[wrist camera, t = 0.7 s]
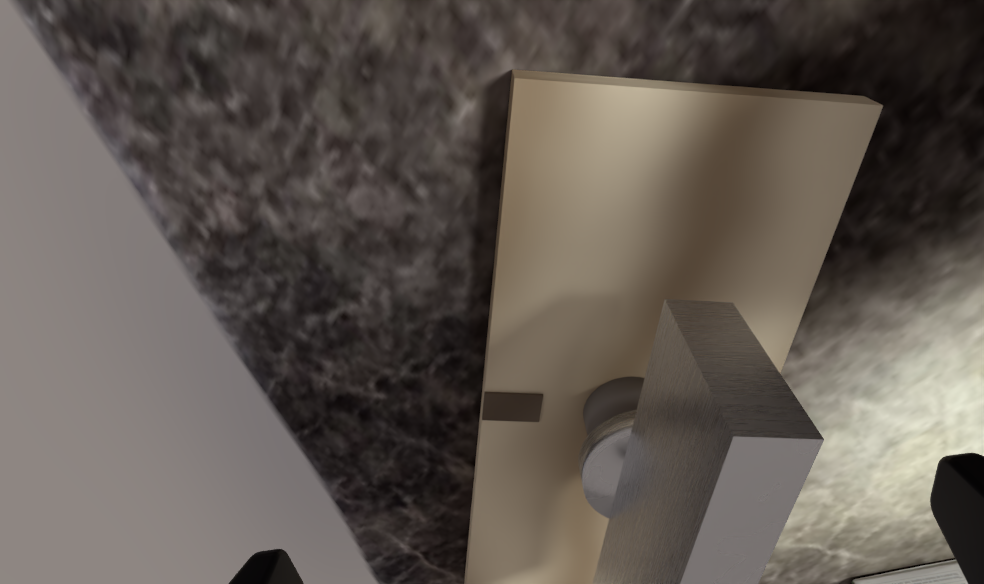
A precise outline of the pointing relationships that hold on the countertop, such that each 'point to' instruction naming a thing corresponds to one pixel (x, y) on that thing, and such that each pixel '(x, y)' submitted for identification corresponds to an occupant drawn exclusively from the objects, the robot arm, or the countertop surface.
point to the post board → (633, 273)
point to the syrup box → (920, 575)
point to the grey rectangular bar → (699, 457)
